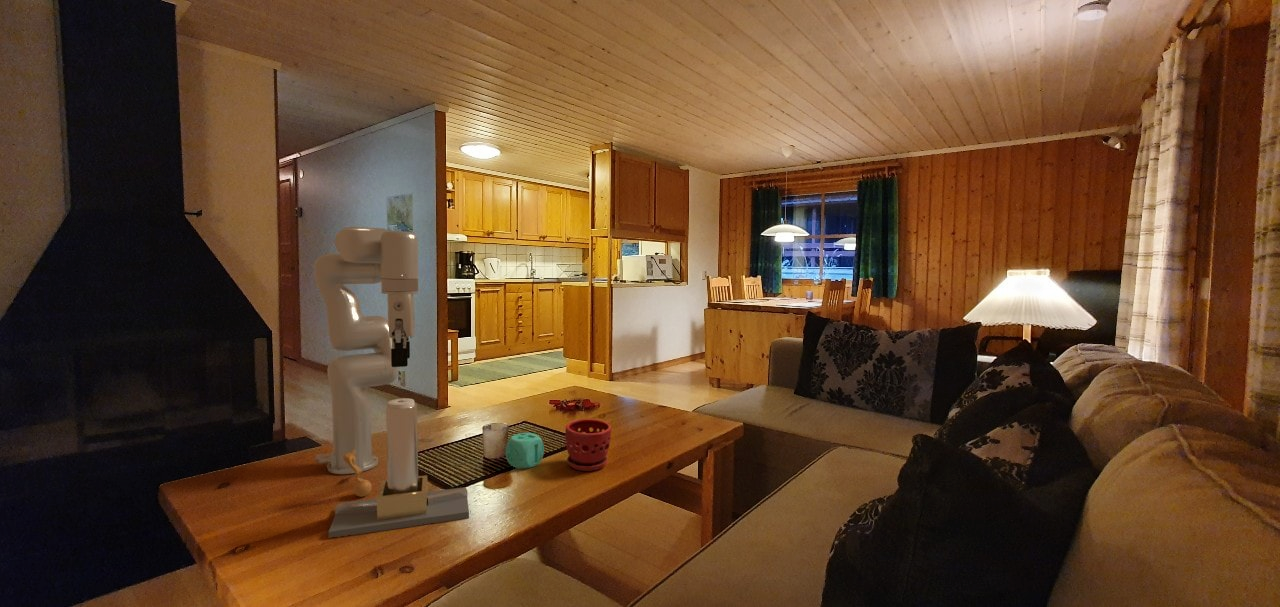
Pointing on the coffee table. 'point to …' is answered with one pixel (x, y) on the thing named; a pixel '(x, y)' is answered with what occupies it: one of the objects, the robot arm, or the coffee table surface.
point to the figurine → (357, 476)
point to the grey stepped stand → (401, 502)
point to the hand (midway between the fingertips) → (401, 362)
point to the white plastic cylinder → (402, 446)
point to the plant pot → (587, 444)
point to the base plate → (369, 523)
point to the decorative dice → (524, 450)
